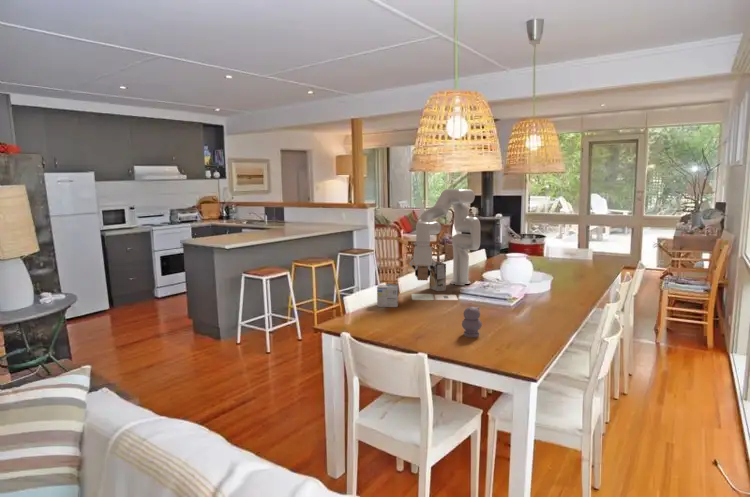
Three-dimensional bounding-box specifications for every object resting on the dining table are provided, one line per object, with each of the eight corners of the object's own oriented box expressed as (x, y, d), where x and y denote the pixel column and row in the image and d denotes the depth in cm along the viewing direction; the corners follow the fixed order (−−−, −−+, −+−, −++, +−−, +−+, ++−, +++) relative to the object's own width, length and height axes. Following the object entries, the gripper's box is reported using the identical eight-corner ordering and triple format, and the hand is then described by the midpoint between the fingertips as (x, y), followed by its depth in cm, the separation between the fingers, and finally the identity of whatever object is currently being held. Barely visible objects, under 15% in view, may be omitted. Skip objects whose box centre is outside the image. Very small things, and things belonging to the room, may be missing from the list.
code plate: (434, 294, 262) (434, 294, 262) (455, 295, 262) (455, 294, 262) (436, 300, 250) (436, 299, 250) (458, 300, 250) (458, 299, 250)
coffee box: (446, 290, 273) (446, 263, 271) (437, 291, 271) (437, 264, 268) (437, 287, 282) (438, 261, 279) (428, 288, 279) (429, 262, 277)
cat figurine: (470, 330, 198) (470, 303, 197) (485, 334, 193) (486, 307, 191) (457, 334, 193) (458, 306, 191) (472, 339, 187) (473, 310, 185)
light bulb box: (398, 304, 243) (398, 284, 241) (397, 307, 236) (397, 287, 235) (378, 303, 244) (378, 283, 242) (376, 307, 237) (376, 286, 236)
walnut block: (417, 278, 258) (417, 265, 257) (427, 278, 258) (427, 266, 257) (417, 280, 253) (417, 267, 252) (427, 280, 252) (427, 267, 251)
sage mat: (411, 294, 264) (411, 293, 264) (432, 294, 263) (432, 293, 263) (412, 300, 250) (412, 299, 250) (434, 300, 250) (434, 299, 250)
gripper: (407, 245, 249) (407, 278, 252) (439, 245, 249) (438, 278, 251) (407, 243, 257) (406, 275, 259) (438, 243, 256) (437, 275, 258)
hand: (422, 276), depth 255 cm, fingers closed on walnut block, 5 cm apart
